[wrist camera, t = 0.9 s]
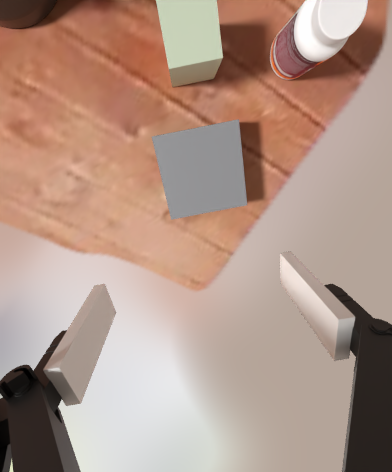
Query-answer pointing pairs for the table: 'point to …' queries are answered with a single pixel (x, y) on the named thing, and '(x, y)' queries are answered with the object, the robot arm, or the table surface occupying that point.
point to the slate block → (202, 169)
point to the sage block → (191, 39)
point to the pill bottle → (314, 35)
